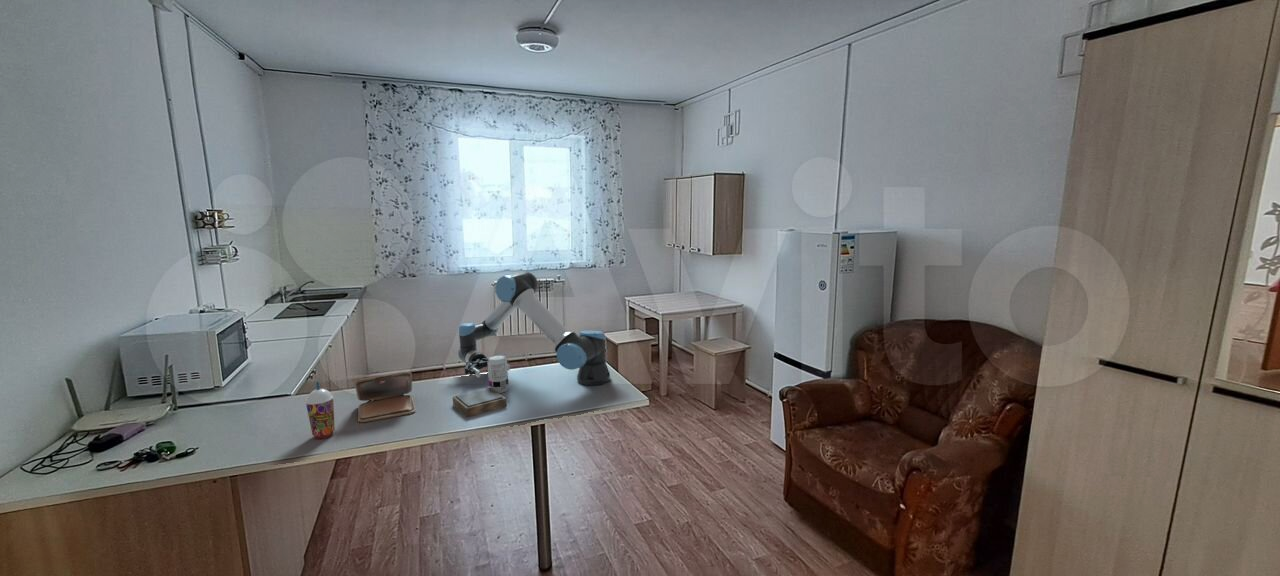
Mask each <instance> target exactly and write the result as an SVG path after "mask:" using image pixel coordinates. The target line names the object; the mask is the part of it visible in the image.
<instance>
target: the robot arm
mask: <svg viewBox="0 0 1280 576" xmlns="http://www.w3.org/2000/svg"><path fill="white" fill-rule="evenodd" d="M538 287H539V282H538V278H537V277H536V276H535V275H534V274H533V273H531V272H530V271H520V272H515V273H511V274H505V275H501V276H500V277H499V278H498V279H497V281H496V283H495V295H496V296H497V298H498V299H499V301H501V302H500V303H499V304H498V305H497V306H496V307H495V308H494V309H493V310H492V312H491V313H489V315H488V316H487V317H486V318H485V319H484V320H483V321H482V322H480V323H477V324H475V323H474V322H464V323H461V324H459V326H458V337H459V350H458V352H457V355H458V356H457V357H458V358H459V359H460V360H461V362H463V363H465V367H464V374H465V375H468V374H469V376H473V375H474V376H476V377H477V378H481V370H482V369H483V368H488V363H487V361H488V359H489V358H487V356H486V355H485V354H483V353H481V352H480V351H478V350H477V348H478V347H477V341H479V340H482V339H485V338H488V337H491V336H494V335H495V334H497V333H498V332H499V328H500V326H501V325H502V324H503V323H504V322H505V321H506V320H507V319H508V318H509V317H510V316H511V315H512V314H513V313H514V312H515V311H516V310H517V309H520V310H521V311H522V313H524V315H525V316H527V318H528V320H530V321H531V322H532V323H533V324H534V325H535V327H537V328H538V330H540V331H541V332H542V334H543V335H544V336H545V337H546V338H547V339H548V341H550V342H551V343H552V344H553V345H554V352H555V353H556V357H557V359H556V360H557V361H558V364H559V365H560V366H562V368H564V369H565V370H570V371H571V370H576V369H578V371H577V375H576V378H577V379H576V382H577V383H578V384H580V385H583V386H584V385H585V386H599V385H604V384H607V383H608V382H610V380H611V373H610V371H609V369H608V366H607V361H606V360H607V359H606V358H607V357H606V350H607V349H606V335H605V333H604V331H600V330H592V329H591V330H587V329H586V330H581V331H579V335H578V334H577V333H576V332H575V331H569V330H568V329H567V328H566V326H564V324H562V322H561V321H560V320H559V319H558V318H557V317H555V315H554V314H553V313H552V312H551V311H550V310H549V309H548V308H547V307H546V306H545V304H544V303H542V302H541V300H539V299H538V297H536V295H535V294H536V292H537V290H538ZM509 362H510V361H509V359H507V369H508V371H510V370H511V369H510V368H511V367H510V364H509Z"/></svg>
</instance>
